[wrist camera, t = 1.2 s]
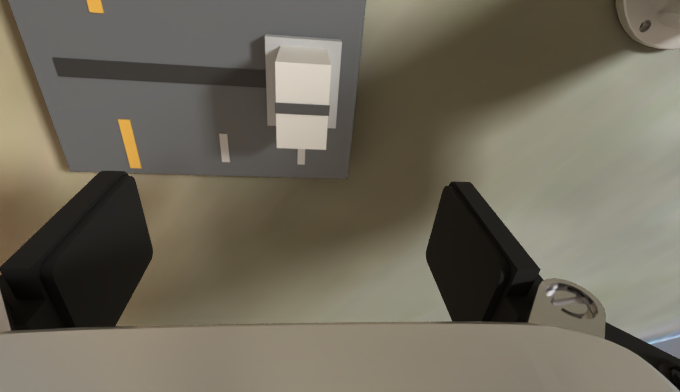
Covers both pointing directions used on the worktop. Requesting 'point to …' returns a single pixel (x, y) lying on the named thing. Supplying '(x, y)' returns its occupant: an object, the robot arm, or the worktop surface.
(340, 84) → the console
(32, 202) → the worktop surface
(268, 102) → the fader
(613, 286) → the worktop surface
